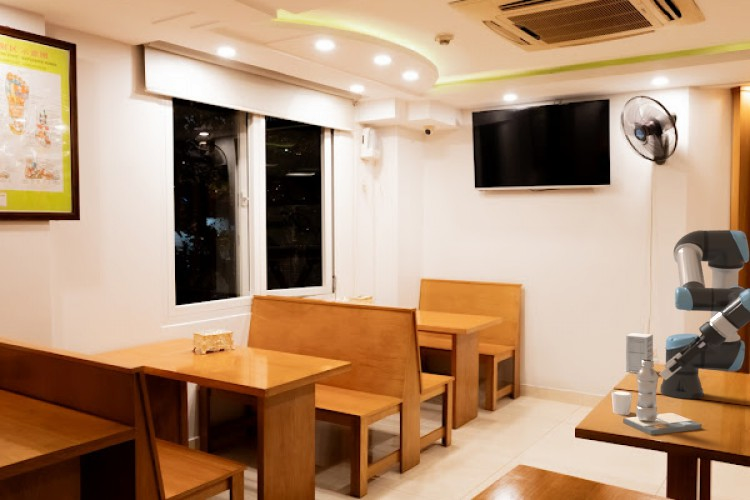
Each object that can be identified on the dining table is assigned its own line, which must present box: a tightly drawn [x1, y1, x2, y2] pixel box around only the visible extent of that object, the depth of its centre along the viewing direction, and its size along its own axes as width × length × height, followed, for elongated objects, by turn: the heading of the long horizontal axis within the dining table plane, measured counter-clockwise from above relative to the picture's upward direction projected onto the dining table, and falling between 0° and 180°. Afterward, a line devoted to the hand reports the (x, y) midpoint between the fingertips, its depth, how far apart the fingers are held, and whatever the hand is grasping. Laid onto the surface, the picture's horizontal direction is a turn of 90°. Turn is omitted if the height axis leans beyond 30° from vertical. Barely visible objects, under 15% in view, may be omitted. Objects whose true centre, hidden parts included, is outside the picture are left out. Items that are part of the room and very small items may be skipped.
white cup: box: [611, 390, 633, 416], centre depth 224 cm, size 7×7×7 cm
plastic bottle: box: [635, 359, 659, 421], centre depth 208 cm, size 6×7×20 cm
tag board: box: [622, 412, 703, 436], centre depth 209 cm, size 20×13×2 cm, turn 107°
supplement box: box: [625, 332, 654, 374], centre depth 286 cm, size 10×9×17 cm
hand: (664, 372), depth 205 cm, fingers open, 13 cm apart
